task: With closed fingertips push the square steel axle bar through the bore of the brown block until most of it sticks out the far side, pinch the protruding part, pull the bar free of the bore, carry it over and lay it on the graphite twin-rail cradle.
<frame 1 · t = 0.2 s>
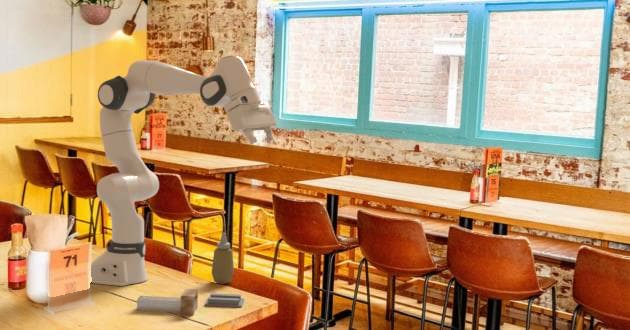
hand: (262, 142, 235), 54 cm above the table, tool tilted 30°, fingers open, 8 cm apart
cradle: (224, 302, 245), on the table
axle: (166, 311, 235), on the table
brown block: (189, 311, 235), on the table
squeeze bottle: (222, 282, 270), on the table
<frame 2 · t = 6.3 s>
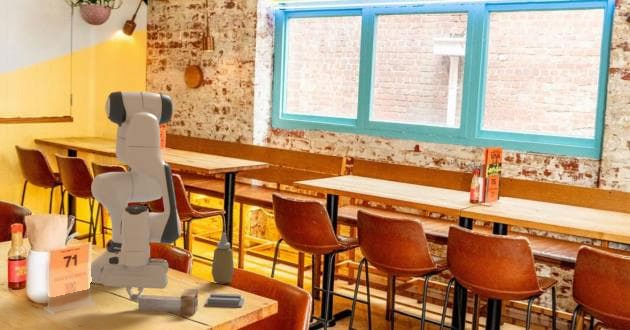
hand: (134, 300, 235), 3 cm above the table, tool pointing down, fingers closed
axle: (168, 310, 236), on the table, touching gripper
everything else where it was.
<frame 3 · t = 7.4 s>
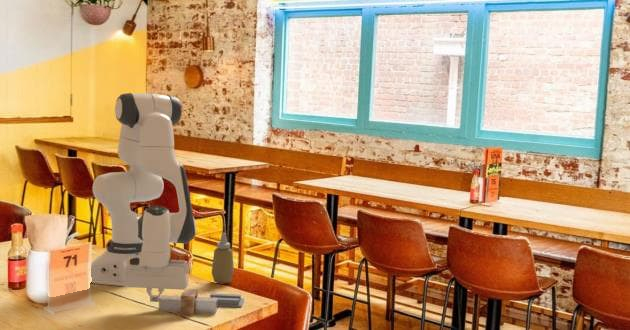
hand: (155, 301, 235), 3 cm above the table, tool pointing down, fingers closed
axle: (188, 310, 236), on the table
everything else where it was.
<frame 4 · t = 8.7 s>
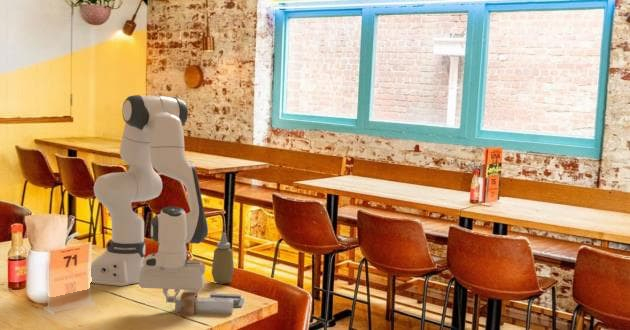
hand: (171, 302, 235), 3 cm above the table, tool pointing down, fingers closed
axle: (204, 311, 236), on the table, touching gripper
everything else where it was.
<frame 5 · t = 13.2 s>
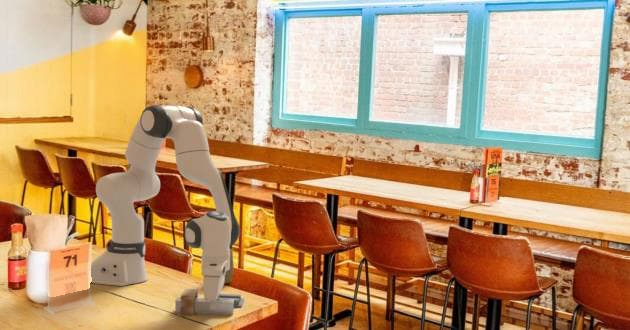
hand: (214, 306, 235), 2 cm above the table, tool pointing down, fingers closed on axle, 4 cm apart
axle: (204, 312, 235), on the table, touching gripper
everything else where it was.
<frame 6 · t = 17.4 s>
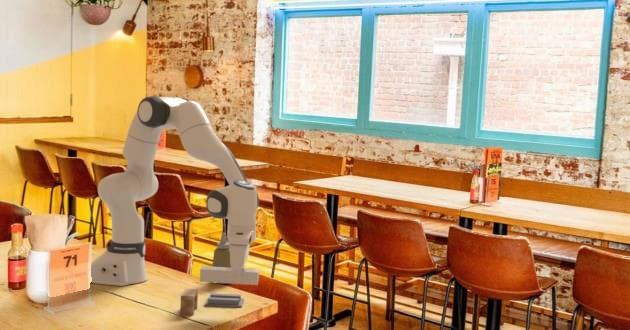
hand: (239, 276, 234), 12 cm above the table, tool pointing down, fingers closed on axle, 4 cm apart
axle: (229, 281, 234), point 10 cm above the table, touching gripper
everything else where it was.
when the fingers open (5 cm above the table, at t = 21.2 s): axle stays where it is, resting on cradle.
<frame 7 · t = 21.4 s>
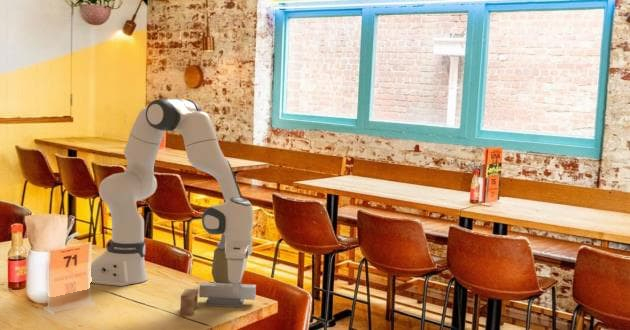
hand: (237, 289, 245), 5 cm above the table, tool pointing down, fingers open, 6 cm apart
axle: (227, 296, 245), point 2 cm above the table, touching cradle
everything else where it was.
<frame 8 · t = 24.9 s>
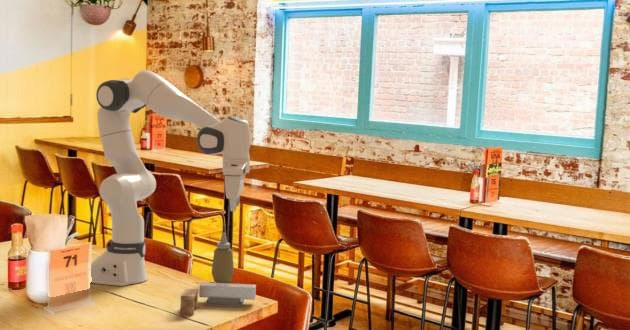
hand: (234, 208, 245), 31 cm above the table, tool pointing down, fingers open, 8 cm apart
nothing on the table moved.
at the end: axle inside the target area on the cradle (0.9 cm from its centre), point 2.1 cm above the cradle's base; the gripper is holding nothing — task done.
